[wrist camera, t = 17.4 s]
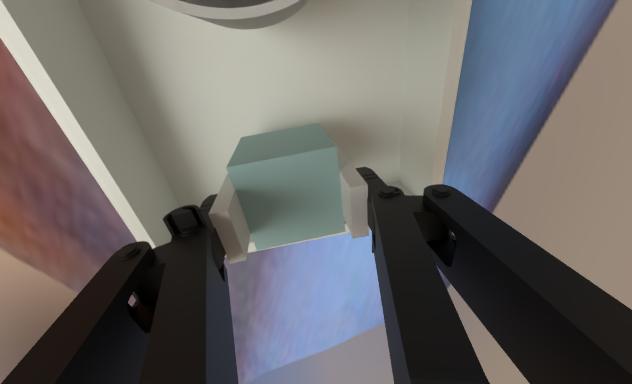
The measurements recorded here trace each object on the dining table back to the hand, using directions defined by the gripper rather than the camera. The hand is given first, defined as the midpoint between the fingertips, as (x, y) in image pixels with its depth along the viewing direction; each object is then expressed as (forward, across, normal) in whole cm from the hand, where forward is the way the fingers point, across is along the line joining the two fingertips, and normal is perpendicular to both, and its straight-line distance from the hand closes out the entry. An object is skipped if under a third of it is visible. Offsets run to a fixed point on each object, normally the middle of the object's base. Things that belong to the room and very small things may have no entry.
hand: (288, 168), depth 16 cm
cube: (0, 0, 0) cm, 0 cm away
